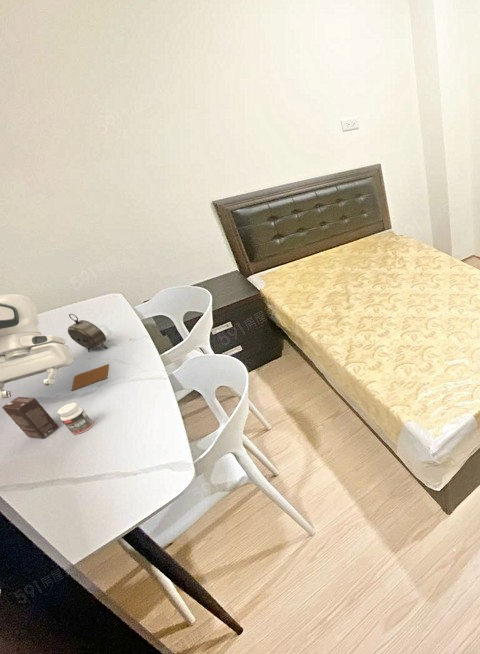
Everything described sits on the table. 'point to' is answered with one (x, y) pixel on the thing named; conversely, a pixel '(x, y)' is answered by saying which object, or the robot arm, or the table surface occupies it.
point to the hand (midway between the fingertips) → (28, 391)
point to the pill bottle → (75, 418)
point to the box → (30, 417)
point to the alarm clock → (86, 334)
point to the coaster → (90, 377)
